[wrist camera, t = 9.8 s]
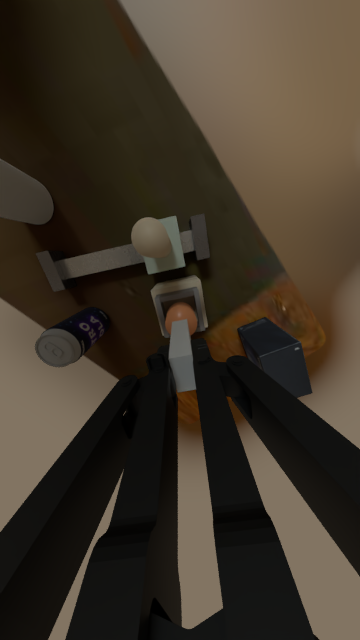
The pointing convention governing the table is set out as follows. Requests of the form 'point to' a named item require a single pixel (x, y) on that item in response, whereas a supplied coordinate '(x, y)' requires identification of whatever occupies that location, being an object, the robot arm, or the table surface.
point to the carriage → (158, 243)
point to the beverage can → (71, 337)
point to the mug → (23, 197)
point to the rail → (115, 257)
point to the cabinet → (179, 300)
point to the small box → (276, 355)
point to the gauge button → (181, 316)
